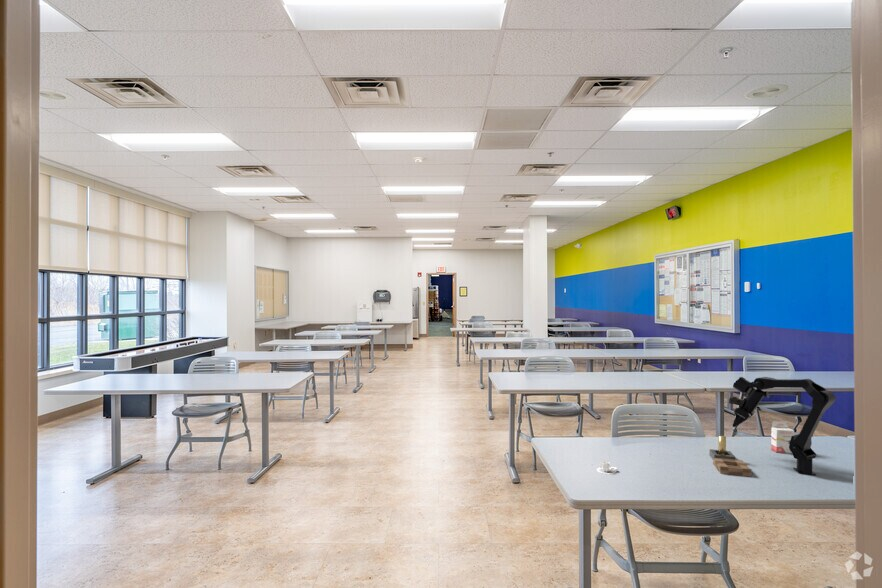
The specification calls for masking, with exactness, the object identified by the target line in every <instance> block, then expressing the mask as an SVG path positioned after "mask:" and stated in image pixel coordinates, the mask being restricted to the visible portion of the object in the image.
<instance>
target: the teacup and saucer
mask: <svg viewBox="0 0 882 588" xmlns="http://www.w3.org/2000/svg"><path fill="white" fill-rule="evenodd" d="M610 463H611V462H609V461H602V462H601V463H599V467H597V468H596V471H597V472H598V473H600V474H604V475H613V474H615V473H616V472H618V469H619V468H618V467H616V466H611V467H610ZM601 470H602V471H601ZM609 471H610V473H608V472H609Z"/></svg>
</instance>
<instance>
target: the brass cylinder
mask: <svg viewBox="0 0 882 588" xmlns="http://www.w3.org/2000/svg"><path fill="white" fill-rule="evenodd" d="M717 446H718V449H717V450H718V454H720V455H726V451H727V436H724V435H718V443H717Z"/></svg>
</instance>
